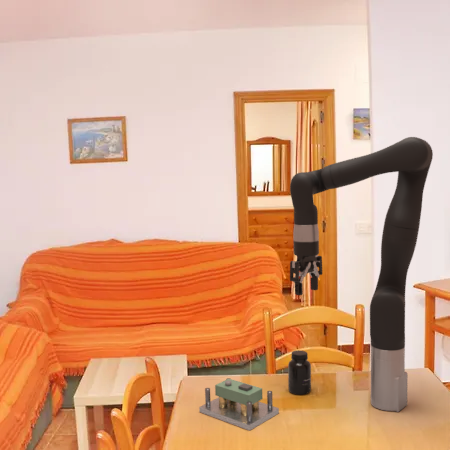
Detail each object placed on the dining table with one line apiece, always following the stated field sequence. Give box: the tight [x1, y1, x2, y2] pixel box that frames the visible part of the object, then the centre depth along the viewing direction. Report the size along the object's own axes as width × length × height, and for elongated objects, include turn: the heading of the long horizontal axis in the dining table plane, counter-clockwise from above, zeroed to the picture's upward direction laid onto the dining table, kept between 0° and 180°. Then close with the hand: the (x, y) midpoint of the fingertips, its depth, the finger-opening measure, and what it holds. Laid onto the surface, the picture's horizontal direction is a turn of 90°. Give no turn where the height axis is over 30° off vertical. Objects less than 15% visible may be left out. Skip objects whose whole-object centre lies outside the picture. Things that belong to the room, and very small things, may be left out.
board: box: [214, 378, 263, 405], centre depth 153 cm, size 12×6×4 cm, turn 50°
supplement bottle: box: [287, 350, 312, 396], centre depth 167 cm, size 7×7×12 cm
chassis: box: [198, 377, 280, 431], centre depth 154 cm, size 18×13×6 cm
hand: (306, 292), depth 167 cm, fingers open, 8 cm apart
